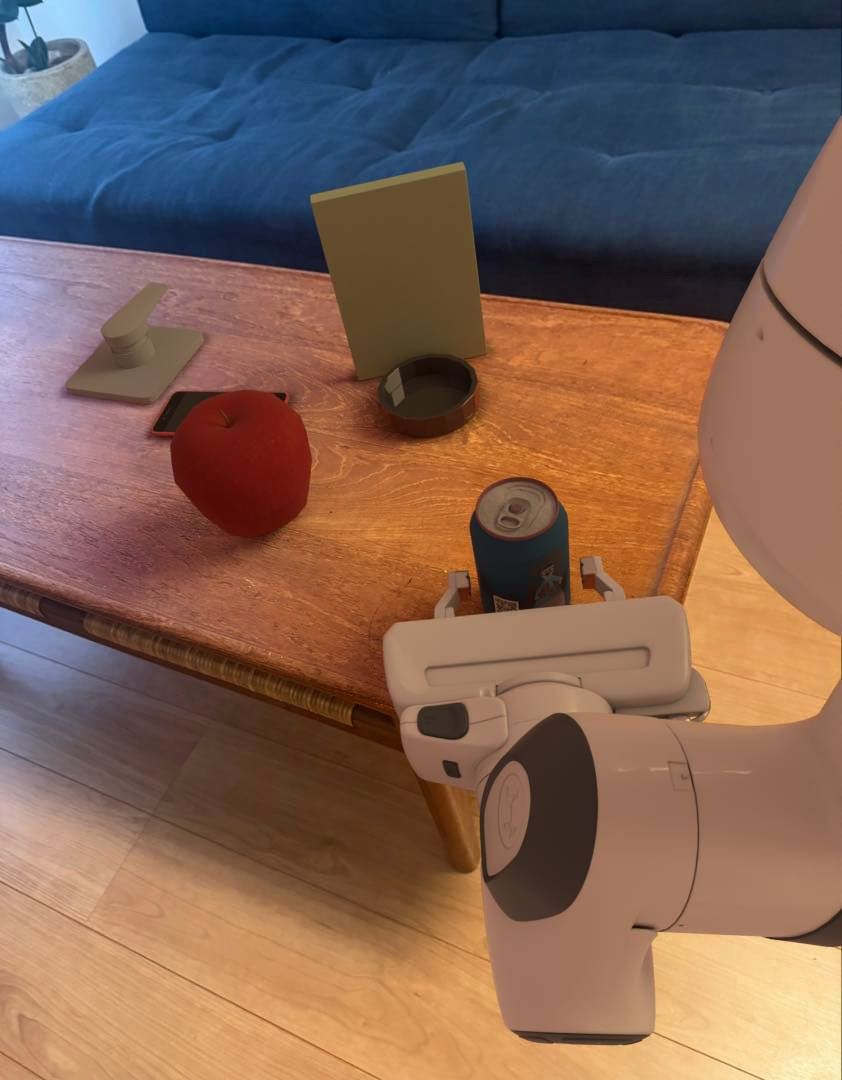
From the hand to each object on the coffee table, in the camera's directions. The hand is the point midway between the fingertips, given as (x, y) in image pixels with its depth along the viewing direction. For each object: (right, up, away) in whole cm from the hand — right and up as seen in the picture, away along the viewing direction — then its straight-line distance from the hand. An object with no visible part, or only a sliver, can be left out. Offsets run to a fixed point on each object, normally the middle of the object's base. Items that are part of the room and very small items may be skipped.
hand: (524, 568), depth 59 cm
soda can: (+1, -3, +6) cm, 7 cm away
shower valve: (-40, +23, +37) cm, 60 cm away
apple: (-22, +4, +17) cm, 28 cm away
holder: (-6, +16, +24) cm, 29 cm away
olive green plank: (-7, +21, +28) cm, 36 cm away
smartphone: (-29, +15, +28) cm, 43 cm away
